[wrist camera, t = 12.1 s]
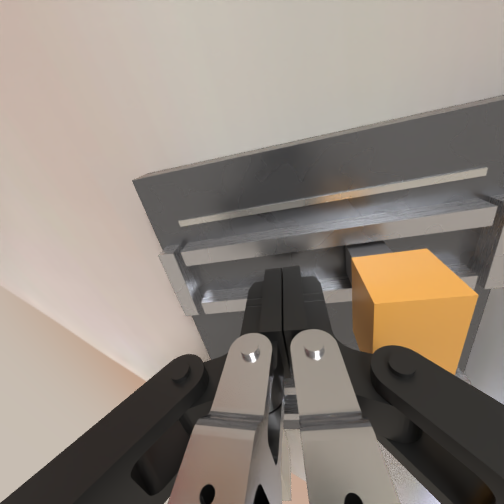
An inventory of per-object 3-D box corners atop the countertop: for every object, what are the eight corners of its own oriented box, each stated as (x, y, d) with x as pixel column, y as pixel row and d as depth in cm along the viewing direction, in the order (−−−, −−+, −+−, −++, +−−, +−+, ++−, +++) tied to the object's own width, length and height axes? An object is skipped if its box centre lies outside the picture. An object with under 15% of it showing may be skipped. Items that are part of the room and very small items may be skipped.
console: (516, 92, 9) (588, 85, 7) (434, 409, 19) (453, 445, 17) (147, 173, 12) (119, 186, 10) (244, 410, 22) (240, 441, 20)
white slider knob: (281, 378, 17) (282, 474, 12) (288, 407, 18) (291, 501, 14) (248, 379, 17) (237, 472, 13) (258, 407, 19) (251, 498, 14)
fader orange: (392, 217, 10) (478, 294, 6) (388, 283, 12) (452, 383, 8) (335, 226, 11) (374, 303, 6) (338, 288, 13) (371, 385, 8)
